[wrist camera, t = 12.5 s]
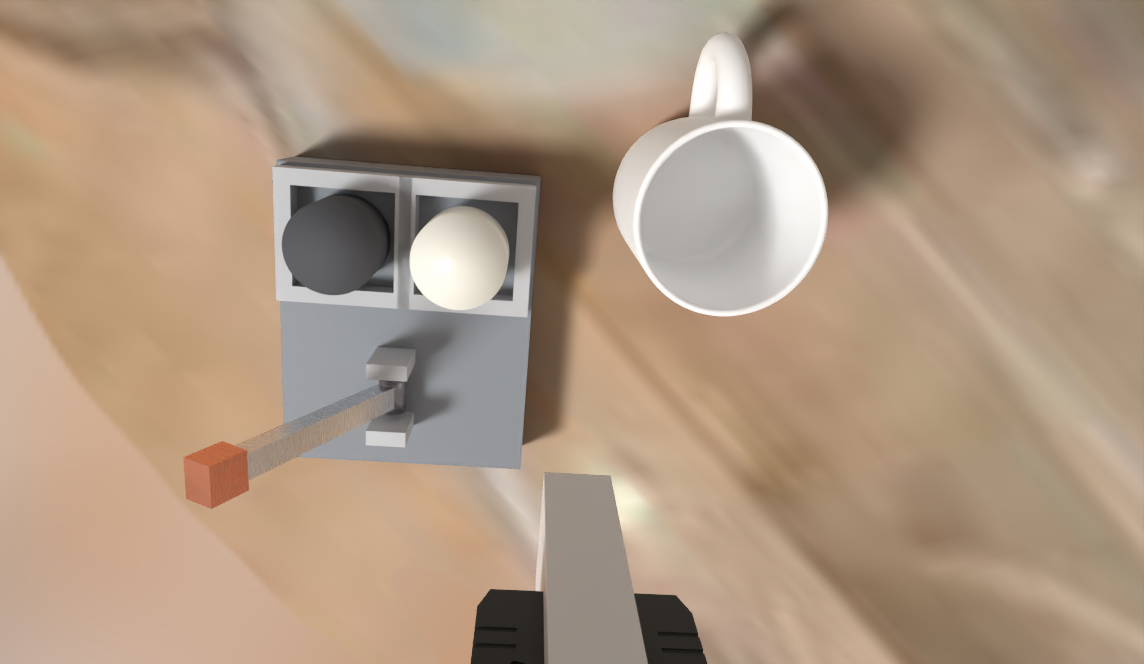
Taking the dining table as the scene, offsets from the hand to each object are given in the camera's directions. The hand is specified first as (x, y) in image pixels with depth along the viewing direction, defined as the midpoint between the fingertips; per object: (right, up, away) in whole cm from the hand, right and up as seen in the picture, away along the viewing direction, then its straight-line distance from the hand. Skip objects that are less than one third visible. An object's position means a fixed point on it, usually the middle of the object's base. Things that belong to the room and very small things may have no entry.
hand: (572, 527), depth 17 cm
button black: (-11, +9, +21) cm, 25 cm away
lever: (-9, +1, +23) cm, 25 cm away
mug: (+6, +14, +24) cm, 28 cm away
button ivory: (-5, +8, +20) cm, 22 cm away
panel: (-9, +6, +25) cm, 28 cm away
